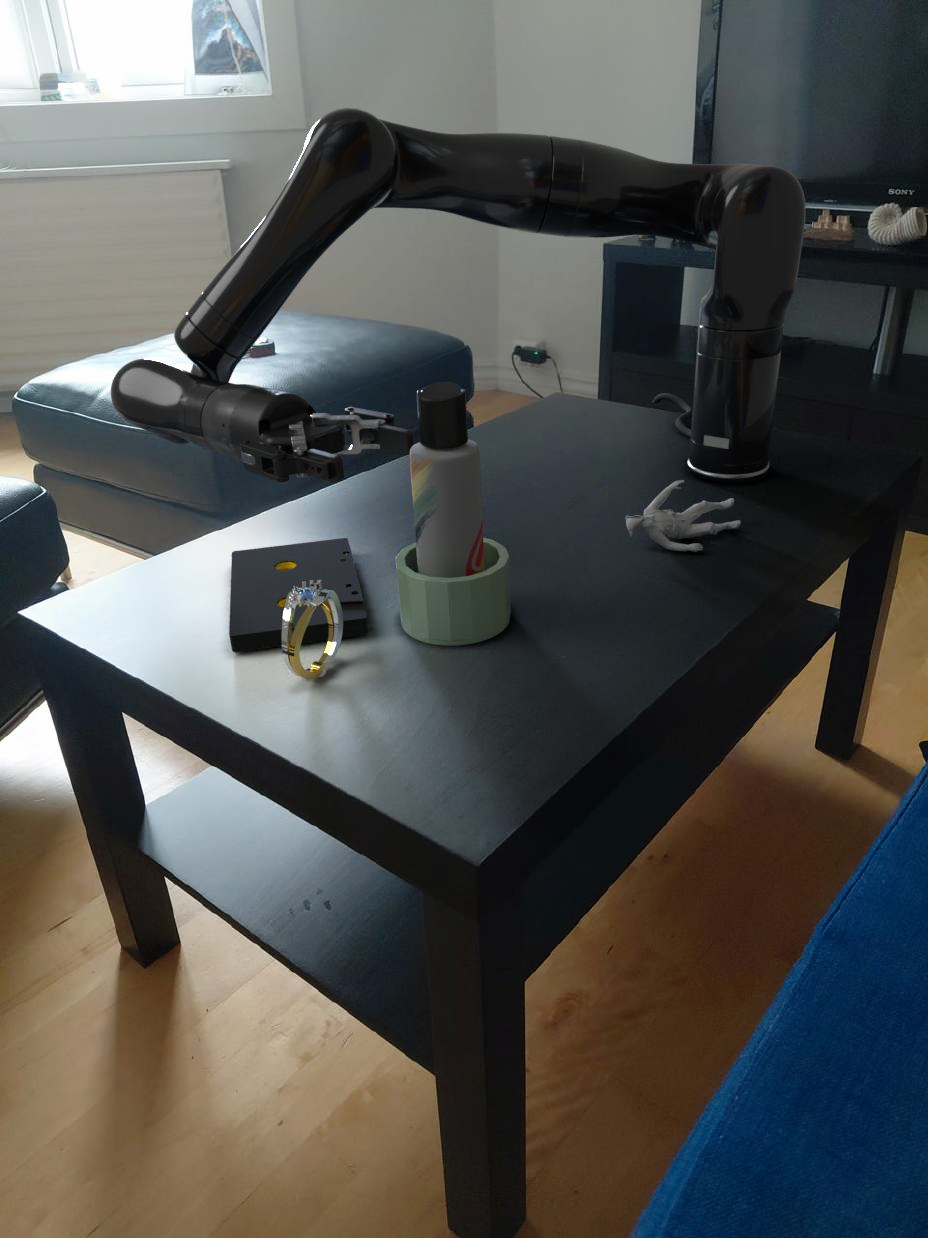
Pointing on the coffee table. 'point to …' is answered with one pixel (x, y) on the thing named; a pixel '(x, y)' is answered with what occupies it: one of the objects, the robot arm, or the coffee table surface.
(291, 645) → the ring
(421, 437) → the lotion bottle
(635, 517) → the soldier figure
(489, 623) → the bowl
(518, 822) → the coffee table surface
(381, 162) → the robot arm
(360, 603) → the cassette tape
